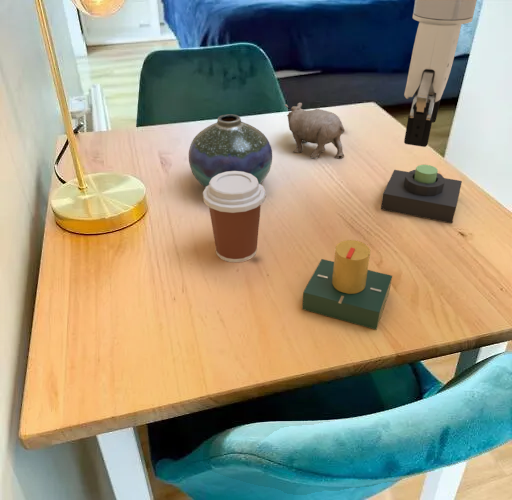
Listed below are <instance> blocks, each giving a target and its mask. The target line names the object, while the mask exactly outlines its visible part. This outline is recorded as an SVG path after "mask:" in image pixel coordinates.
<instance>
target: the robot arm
mask: <svg viewBox="0 0 512 500" xmlns="http://www.w3.org/2000/svg"><path fill="white" fill-rule="evenodd" d="M477 1H478V0H414V5H413V10H412V19H413V20H414V21H417V22H418V26H417V29H416V33H415V38H414V43H413V48H412V52H411V59H410V63H409V68H408V74H407V79H406V84H405V89H404V94H403V96H404V97H405V99H406V100H408V99H410V98H413V100H412V103H411V108H410V112H409V115H408V117H407V121H406V129H405V134H404V140H403V143H404V144H405V145H409V146H415V147H422V148H426V147H428V144H429V139H430V134H431V129H432V125H433V123H435V122H436V121H437V117H438V114H439V113H438V112H439V107H440V104H441V103H440V102H441V99H442V96H443V94H444V91H445V89H446V86H447V83H448V80H449V77H450V74H451V72H452V71H451V70H452V66H453V63H454V59H455V56H456V51H457V47H458V43H459V37H460V33H461V28H462V25H465V24H469V23H472V22H473V20H474V15H475V10H476V5H477Z"/></svg>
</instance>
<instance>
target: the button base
mask: <svg viewBox="0 0 512 500" xmlns="http://www.w3.org/2000/svg"><path fill="white" fill-rule="evenodd" d="M415 171H416V169H412V170H410V171H404V170H399V169H394V170H393V171H392V173H391V176H390V178H389V180H388V182H387V184H386V186H385V189H384V191H383V193H382V196H381V197H382V198H381V204H380V210H383V211H388V212H392V213H397V214H402V215H407V216H413V217H418V218H423V219H428V220H433V221H437V222H443V223H448V224H453V221H454V218H455V214H456V210H457V205H458V201H459V197H460V192H461V187H462V183H463V181H462V180H458V179H452V178H446V177H444V176H443V175H442V174H441V173H439V172H437V177H436V181H435V182H434V183H429V184H426V183H420V182H418V181H416V180H414V176H415Z"/></svg>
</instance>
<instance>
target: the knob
mask: <svg viewBox="0 0 512 500" xmlns="http://www.w3.org/2000/svg"><path fill="white" fill-rule="evenodd" d="M370 257H371V248H370V247H369V246H368V244H366V243H364V242H362V241H360V240H354V239H347V240H342V241H340V242H338V243H337V244H336V245H335V248H334V258H333V262H334V267H333V277H332V284H333V286H334V287H335V289H337V290H338V291H340V292H343V293H347V294H355V293H359V292H361V291H362V290H363V289H364V288H365V286H366V279H367V272H368V270H369V266H370Z"/></svg>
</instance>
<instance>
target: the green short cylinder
mask: <svg viewBox="0 0 512 500" xmlns="http://www.w3.org/2000/svg"><path fill="white" fill-rule="evenodd" d="M415 170H416V171H415V176H414V180H416V181H418V182H420V183H426V184H429V183H434V182H435V181H436V177H437V173H439V170H438V168H437V167H436V166H433V165H430V164H420V165H417V166H416V167H415Z"/></svg>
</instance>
